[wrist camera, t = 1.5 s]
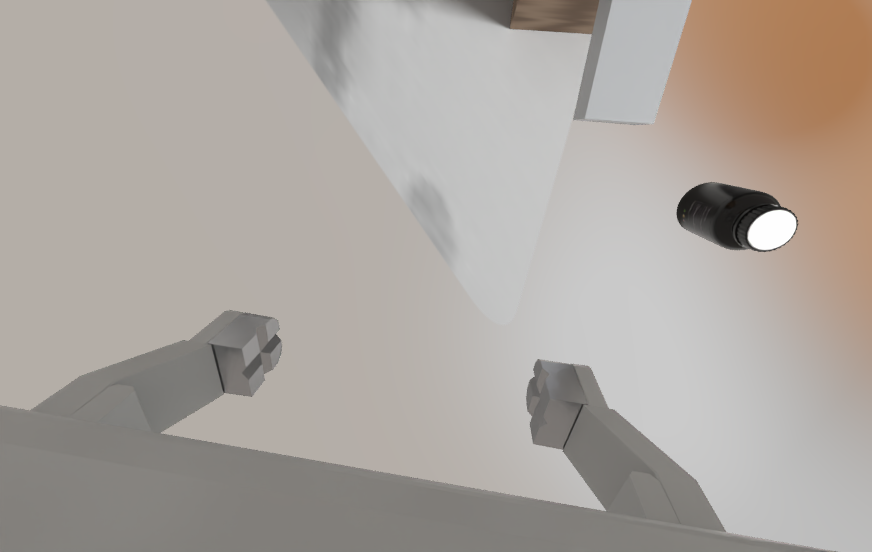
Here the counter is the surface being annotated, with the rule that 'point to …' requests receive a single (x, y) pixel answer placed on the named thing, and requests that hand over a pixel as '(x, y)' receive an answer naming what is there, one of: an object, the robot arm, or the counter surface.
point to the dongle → (630, 60)
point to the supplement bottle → (736, 217)
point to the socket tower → (554, 15)
